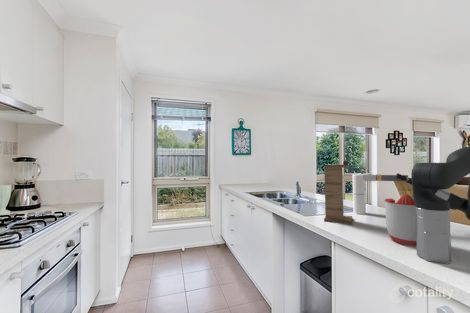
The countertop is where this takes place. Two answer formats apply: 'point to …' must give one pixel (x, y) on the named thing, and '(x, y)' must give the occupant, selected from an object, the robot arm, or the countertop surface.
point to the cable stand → (335, 194)
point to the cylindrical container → (359, 194)
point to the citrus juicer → (401, 220)
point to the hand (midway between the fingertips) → (396, 175)
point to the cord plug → (382, 177)
